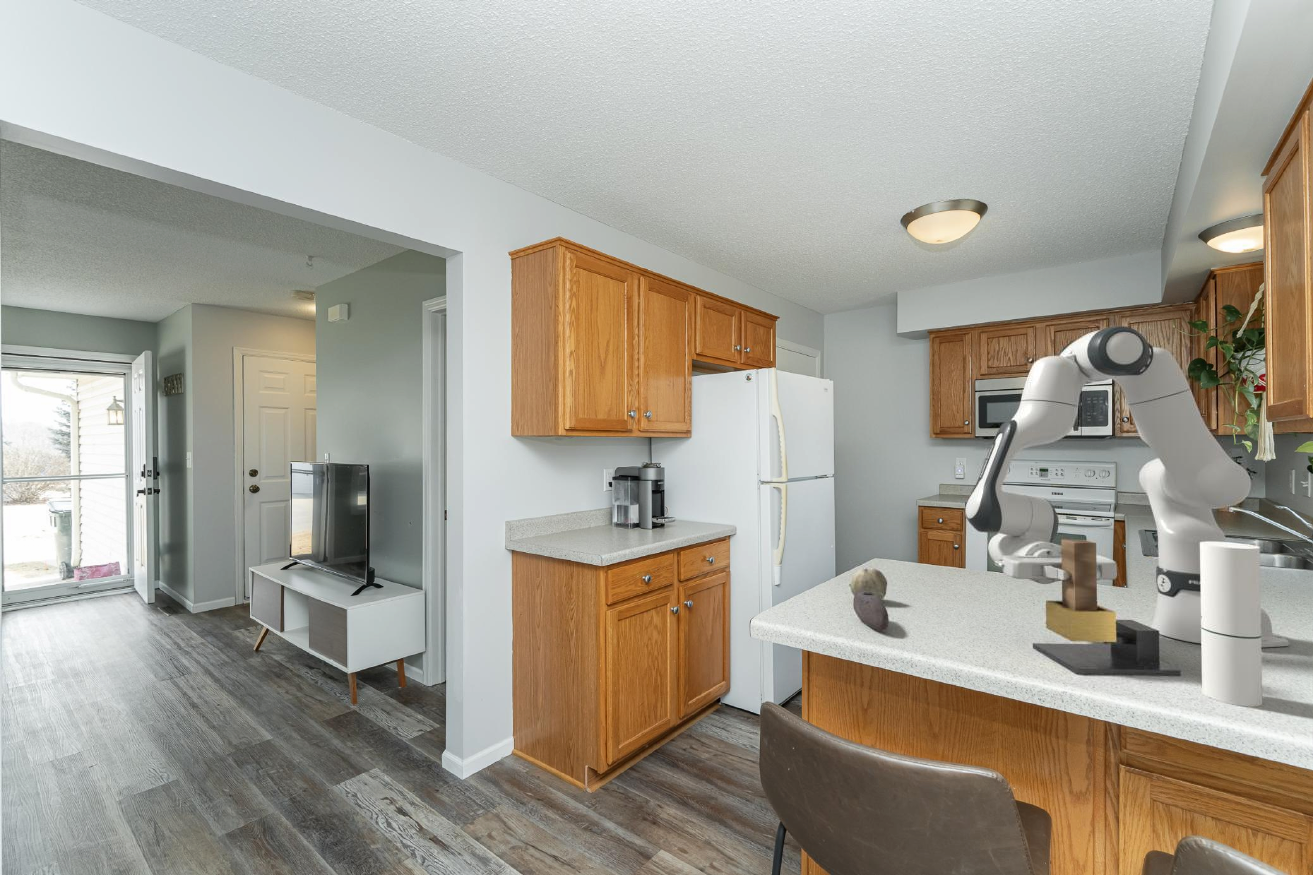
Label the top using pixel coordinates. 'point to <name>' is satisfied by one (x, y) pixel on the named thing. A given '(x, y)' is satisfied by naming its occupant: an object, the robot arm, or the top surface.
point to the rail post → (1079, 575)
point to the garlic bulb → (869, 582)
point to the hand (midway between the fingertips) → (1082, 576)
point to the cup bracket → (1121, 654)
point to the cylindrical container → (1231, 623)
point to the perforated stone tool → (870, 610)
